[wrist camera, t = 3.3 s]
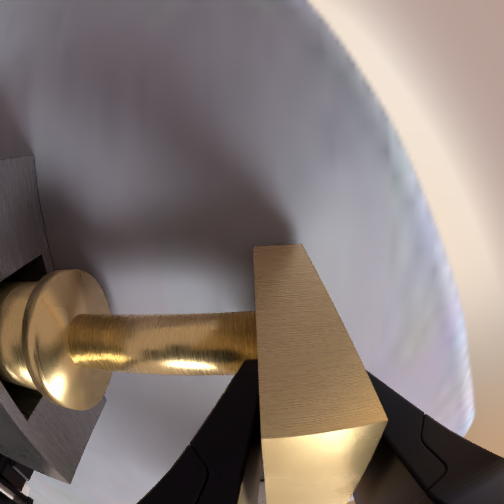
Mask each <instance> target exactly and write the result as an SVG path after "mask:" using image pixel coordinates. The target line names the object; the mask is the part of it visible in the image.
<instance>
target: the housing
mask: <svg viewBox="0 0 504 504" xmlns="http://www.w3.org/2000/svg"><path fill="white" fill-rule="evenodd" d="M53 271H55V270H54V267H53V263H52V259H51V255H50V251H49V247H48V243H47V238H46V234H45V229H44V224H43V219H42V214H41V208H40V202H39V196H38V189H37V182H36V173H35V164H34V155H30V156H23V157H16V158H10V159H4V160H0V282H39V280H41V279H42V278H43V277H44V276H45V275H47V274H48V273H50V272H53ZM105 403H106V400H105V398H104V396H103V397H102V399H101V400H100V401H99V402H98V403H97V404H96V405H95V406H94V407H92V408H90V409H88V410H82V411H81V410H74V409H70V408H65V407H61V406H58V405H55V404H53V403H51V402H50V401H48V400H47V399H46V398H45V397H44V396H43V395H42V394H41V393H40V392H39V391H38V390H34V389H31V388H27V387H24V386H20V385H17V384H13V383H10V382H7V381H4V380H1V379H0V453H1V454H3V455H5V456H7V457H9V458H10V459H12V460H14V461H16V462H18V463H20V464H22V465H25V466H27V467H29V468H31V469H33V470H35V471H38V472H40V473H42V474H45V475H47V476H50V477H52V478H55V479H57V480H60V481H62V482H65V483H68V484H71V481H72V479H73V476H74V474H75V471H76V469H77V467H78V464H79V462H80V459H81V457H82V454H83V452H84V450H85V447H86V445H87V443H88V440H89V438H90V436H91V434H92V431H93V429H94V427H95V425H96V422H97V420H98V418H99V416H100V414H101V411H102V409H103V407H104V405H105Z"/></svg>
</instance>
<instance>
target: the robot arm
mask: <svg viewBox="0 0 504 504" xmlns="http://www.w3.org/2000/svg"><path fill="white" fill-rule="evenodd" d="M365 370H366V369H365ZM366 372H367V374H368V376H369V378H370V381H371V383H372V385H373V387H374V389H375V392H376V394H377V396H378V398H379V400H380V403H381V405H382V407H383V409H384V412H385V414H386V416H387V419H388V422H387V424H386V427H385V429H384V431H383V434H382V436H381V438H380V441H379V443H378V445H377V447H376V449H375V451H374V453H373V456H372V458H371V460H370V462H369V464H368V466H367V468H366V470H365V472H364V474H363V475H362V477H361V479H360V481H359V483H358V485H357V487H356V488H355V490H354V492H353V496H354V500H355V503H356V504H504V458H503V457H500V456H498V455H496V454H494V453H492V452H490V451H488V450H486V449H483V448H482V447H480V446H478V445H476V444H474V443H472V442H470V441H468V440H467V439H465V438H463V437H461V436H459V435H458V434H456V433H454V432H452V431H451V430H449V429H448V428H446V427H444V426H443V425H441V424H440V423H438V422H437V421H435V420H434V419H433V418H431V417H430V416H428V415H427V414H425V415H424V412H423V411H421V410H420V409H419V408H417V407H416V406H414V405H413V404H412V403H410V402H409V401H408V400H406V399H405V398H403V397H402V396H401V395H399V394H398V393H397V392H395V391H394V390H393V389H391V388H390V387H388V386H387V385H386V384H384V383H383V382H382V381H380V380H379V379H378V378H376V377H375V376H374V375H372V374H371V373H370V372H368V371H367V370H366ZM261 464H262V443H261V422H260V398H259V375H258V359H248V360H244V362H243V363H242V365H241V366H240V368H239V369H238V371H237V373H236V374H235V376H234V377H233V379H232V380H231V382H230V384H229V385H228V387H227V388H226V390H225V391H224V393H223V394H222V396H221V397H220V399H219V400H218V402H217V403H216V405H215V406H214V408H213V409H212V411H211V412H210V414H209V415H208V417H207V418H206V420H205V421H204V423H203V424H202V426H201V427H200V429H199V430H198V432H197V433H196V435H195V436H194V437H193V439H192V440H191V442H190V445H188V446H187V447H186V449H185V450H184V452H183V453H182V454H181V456H180V457H179V458H178V460H177V461H176V462H175V464H174V465H173V466H172V467H171V469H170V470H169V471H168V472H167V473H166V474H165V476H164V477H163V478H162V479H161V480H160V481H159V482H158V483H157V484H156V485H155V486H154V487H153V488H152V489H151V490H150V491H149V492H148V493H147V494H146V495H145V496H144V497H143V498H142V499H141V500H140V501H139V502H138V503H137V504H258V494H259V485H260V474H261ZM33 471H34V470H33V469H31V468H29V467H27V466H25V465H22V464H20V463H18V462H16V461H14V460H12V459H10V458H9V457H7V456H5V455H3V454H1V453H0V488H1V489H3V490H4V491H5V492H7V493H8V494H9V495H11V496H12V497H14V498H13V500H12V499H11V498H9V497H8V496H7V495H5V494H4V493H3V492H1V491H0V504H33V499H31V498H30V497H29V496H26V495H24V494H23V493H22V492H21V491H22V489H23V487H24V485H25V483H26V480H27V481H29V480H30V478H31V476H32V473H33Z"/></svg>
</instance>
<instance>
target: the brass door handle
mask: <svg viewBox="0 0 504 504" xmlns="http://www.w3.org/2000/svg"><path fill="white" fill-rule="evenodd" d="M253 259H254V282H255V305H256V311H246V312H226V313H201V314H155V315H118V314H111V312H110V308H109V305H108V302H107V299H106V297H105V294H104V292H103V290H102V288H101V287H100V285H99V284H98V282H97V281H96V280H95V278H94V277H92V276H91V275H90V274H89V273H87V272H85V271H83V270H78V269H73V270H57V271H53V272H50V273H48V274H47V275H45V276H44V277H43V278H42V279H41V280H39V282H0V379H1V380H4V381H7V382H10V383H13V384H17V385H20V386H24V387H27V388H31V389H34V390H38V391H39V392H40V393H41V394H42V395H43V396H44V397H45V398H46V399H47V400H48V401H50V402H51V403H53V404H55V405H58V406H61V407H65V408H70V409H74V410H81V411H82V410H88V409H90V408H92V407H94V406H95V405H96V404H97V403H98V402H99V401H100V400H101V399H102V397H103V396H104V394H105V392H106V390H107V387H108V385H109V382H110V379H111V375H112V371H115V372H127V373H141V374H160V375H235V374H236V373H237V371H238V369H239V368H240V366H241V365H242V363H243V362H244V360H248V359H258V375H259V398H260V422H261V443H262V455H263V467H264V479H265V491H266V502H267V504H347V502H348V500H349V499H350V497H351V495H352V494H353V492H354V490H355V488H356V487H357V485H358V483H359V481H360V479H361V477H362V475H363V474H364V472H365V470H366V468H367V466H368V464H369V462H370V460H371V458H372V456H373V453H374V451H375V449H376V447H377V445H378V443H379V441H380V438H381V436H382V434H383V431H384V429H385V427H386V424H387V422H388V419H387V416H386V414H385V412H384V409H383V407H382V405H381V403H380V400H379V398H378V396H377V394H376V392H375V389H374V387H373V385H372V383H371V381H370V378H369V376H368V374H367V372H366V370H365V368H364V366H363V363H362V361H361V359H360V357H359V355H358V353H357V351H356V349H355V347H354V344H353V342H352V340H351V338H350V336H349V334H348V332H347V330H346V328H345V326H344V324H343V322H342V320H341V318H340V316H339V314H338V312H337V310H336V308H335V306H334V304H333V302H332V300H331V298H330V296H329V294H328V292H327V290H326V288H325V286H324V285H323V283H322V281H321V279H320V277H319V275H318V273H317V271H316V269H315V267H314V265H313V264H312V262H311V260H310V258H309V256H308V254H307V252H306V250H305V249H304V247H303V245H302V244H289V245H272V246H256V247H253Z"/></svg>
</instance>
